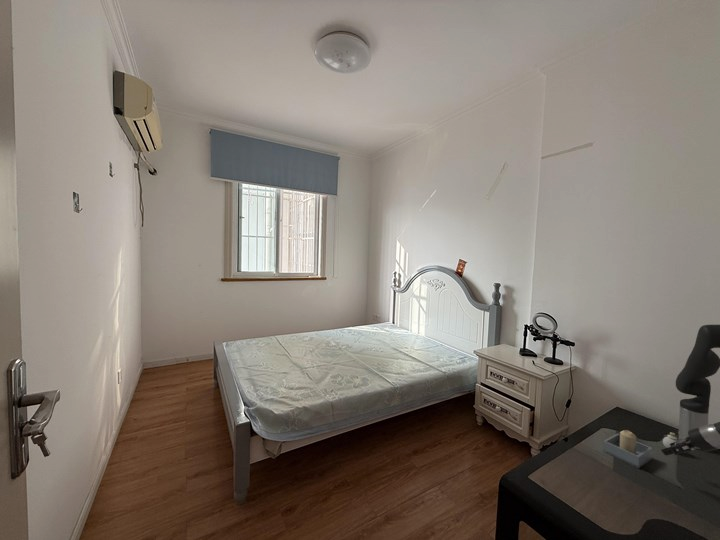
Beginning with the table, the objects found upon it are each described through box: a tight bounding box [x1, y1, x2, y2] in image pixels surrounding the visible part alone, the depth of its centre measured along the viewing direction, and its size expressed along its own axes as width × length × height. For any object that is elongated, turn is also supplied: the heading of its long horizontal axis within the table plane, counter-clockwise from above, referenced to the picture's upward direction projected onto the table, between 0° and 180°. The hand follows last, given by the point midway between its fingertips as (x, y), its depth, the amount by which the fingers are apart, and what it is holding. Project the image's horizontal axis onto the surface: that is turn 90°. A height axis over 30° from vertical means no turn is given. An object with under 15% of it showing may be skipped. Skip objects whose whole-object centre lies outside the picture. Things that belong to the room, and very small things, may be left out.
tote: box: [602, 433, 653, 469], centre depth 133 cm, size 14×13×5 cm
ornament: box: [662, 431, 685, 451], centre depth 136 cm, size 6×7×10 cm
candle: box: [619, 429, 638, 455], centre depth 133 cm, size 6×6×10 cm
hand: (667, 449), depth 121 cm, fingers open, 8 cm apart
